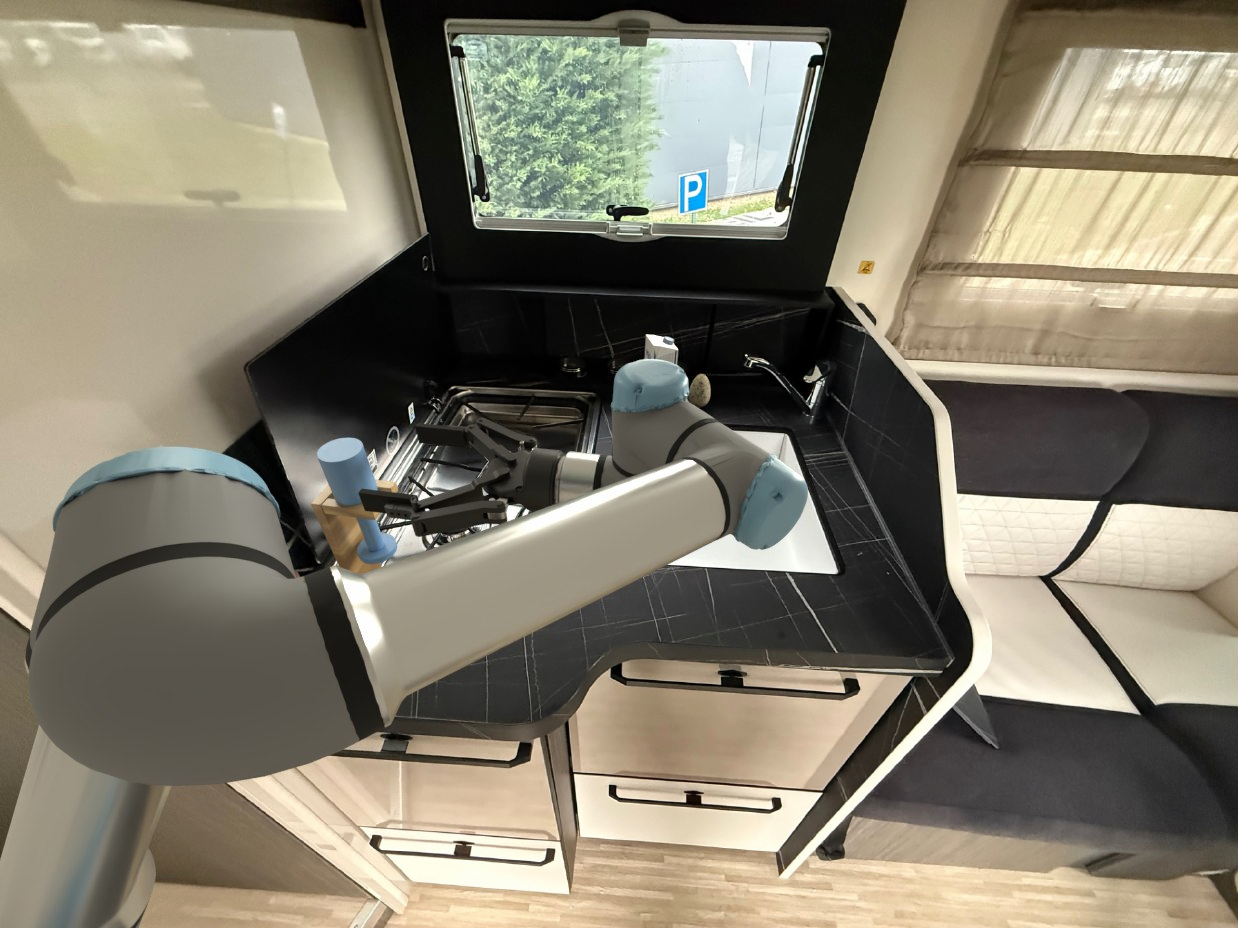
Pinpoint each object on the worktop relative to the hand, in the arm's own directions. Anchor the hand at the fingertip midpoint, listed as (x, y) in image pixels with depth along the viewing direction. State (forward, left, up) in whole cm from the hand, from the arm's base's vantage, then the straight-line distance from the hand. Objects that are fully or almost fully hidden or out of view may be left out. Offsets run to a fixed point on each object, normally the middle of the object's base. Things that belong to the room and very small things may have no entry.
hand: (392, 463), depth 64 cm
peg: (-5, +5, -17) cm, 18 cm away
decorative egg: (+85, +30, -36) cm, 97 cm away
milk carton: (+76, +37, -36) cm, 92 cm away
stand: (-5, +5, -36) cm, 36 cm away
